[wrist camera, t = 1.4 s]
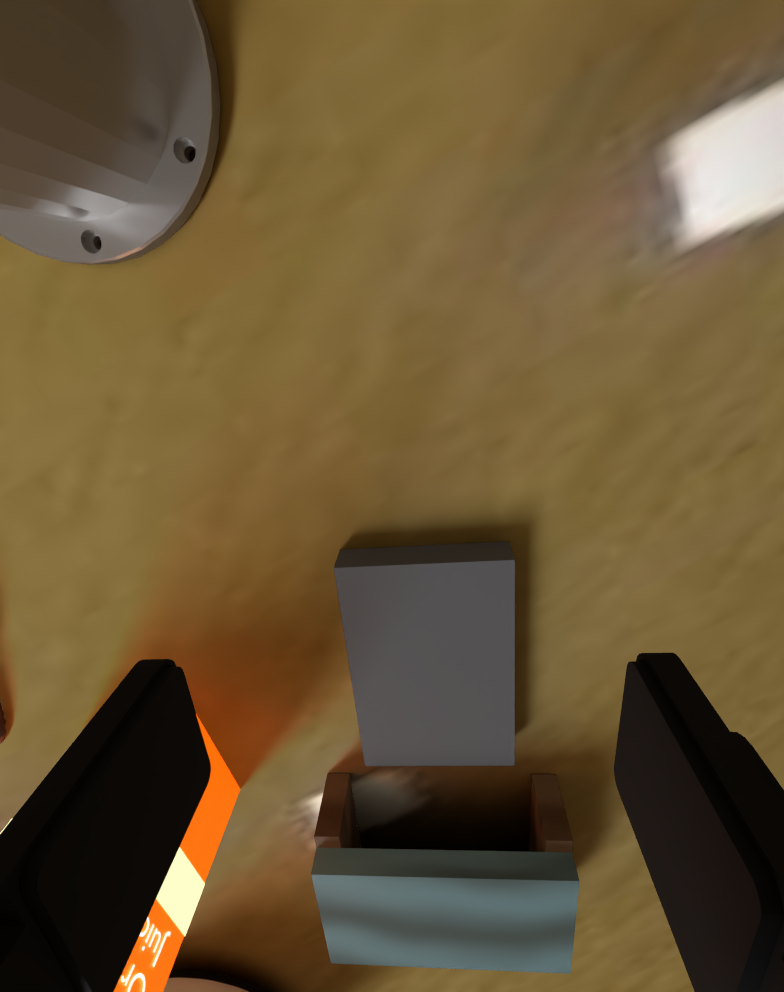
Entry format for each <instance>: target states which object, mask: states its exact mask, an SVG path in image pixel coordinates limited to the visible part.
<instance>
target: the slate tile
mask: <svg viewBox="0 0 784 992" xmlns="http://www.w3.org/2000/svg"><path fill="white" fill-rule="evenodd" d="M334 573H335V579H336V585H337V592H338V598H339V604H340V611H341V617H342V623H343V630H344V636H345V642H346V649H347V655H348V661H349V668H350V674H351V680H352V687H353V693H354V699H355V706H356V712H357V718H358V725H359V731H360V737H361V744H362V750H363V756H364V763H365V766H515V558H514V555H513V552H512V549H511V546H510V543H509V541H504V542H484V543H464V544H443V545H423V546H403V547H382V548H362V549H342V550H340V551H339V554H338V557H337V560H336V563H335V566H334Z"/></svg>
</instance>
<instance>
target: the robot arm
mask: <svg viewBox="0 0 784 992" xmlns="http://www.w3.org/2000/svg"><path fill="white" fill-rule="evenodd" d="M220 106H221V104H220V94H219V84H218V73H217V65H216V61H215V57H214V53H213V49H212V45H211V41H210V36H209V32H208V28H207V25H206V23H205V20H204V18H203V15H202V13H201V10H200V8H199V5H198V3H197V0H0V235H1V236H3V237H4V238H6V239H7V240H9V241H10V242H12V243H15V244H17V245H19V246H21V247H23V248H25V249H27V250H29V251H31V252H33V253H35V254H38V255H41V256H45V257H49V258H52V259H56V260H60V261H63V262H71V263H81V264H114V263H119V262H123V261H126V260H130V259H134V258H137V257H141V256H142V255H144V254H146V253H148V252H150V251H151V250H153V249H155V248H157V247H159V246H160V245H162V244H164V243H165V242H166V241H167V240H168V239H169V238H170V237H171V236H172V235H173V234H174V233H175V232H177V231H178V230H179V229H180V228H181V227H182V226H183V225H184V223H185V222H186V220H187V219H188V217H189V216H190V215H191V213H192V212H193V210H194V209H195V207H196V206H197V204H198V203H199V201H200V199H201V196H202V194H203V192H204V189H205V187H206V185H207V182H208V180H209V178H210V175H211V172H212V168H213V163H214V159H215V154H216V150H217V145H218V141H219V123H220ZM193 149H196V156H195V158H194V160H193V161H192V162H191V160H190V158H189V154H190V152H191V150H193ZM100 239H101V246H102V247H101V246H100ZM210 774H211V763H210V759H209V756H208V753H207V749H206V746H205V743H204V739H203V736H202V732H201V729H200V726H199V722H198V719H197V715H196V712H195V709H194V705H193V702H192V698H191V695H190V692H189V688H188V685H187V682H186V678H185V675H184V672H183V670H182V668H181V667H176V665H175V662H174V661H172V660H170V659H150V660H141V661H139V662H138V663H136V664H135V665H134V667H133V668H132V669H131V671H130V672H129V673H128V674H127V676H126V677H125V678H124V679H123V681H122V682H121V683H120V684H119V686H118V687H117V688H116V689H115V691H114V692H113V693H112V694H111V696H110V697H109V698H108V699H107V701H106V702H105V703H104V704H103V706H102V707H101V708H100V709H99V711H98V712H97V713H96V714H95V716H94V717H93V718H92V719H91V721H90V722H89V723H88V725H87V726H86V727H85V728H84V730H83V731H82V732H81V733H80V735H79V736H78V737H77V738H76V740H75V741H74V742H73V743H72V745H71V746H70V747H69V748H68V750H67V751H66V752H65V753H64V755H63V756H62V757H61V758H60V760H59V761H58V762H57V763H56V765H55V766H54V767H53V768H52V770H51V771H50V772H49V773H48V775H47V776H46V777H45V779H44V780H43V781H42V782H41V784H40V785H39V786H38V787H37V789H36V790H35V791H34V792H33V794H32V795H31V796H30V797H29V799H28V800H27V801H26V802H25V804H24V805H23V806H22V807H21V809H20V810H19V811H18V812H17V814H16V815H15V816H14V817H13V819H12V820H11V821H10V822H9V824H8V825H7V826H6V827H5V829H4V830H3V831H2V833H1V834H0V992H114V990H115V988H116V986H117V984H118V981H119V979H120V977H121V975H122V973H123V970H124V968H125V966H126V964H127V962H128V959H129V957H130V955H131V953H132V951H133V948H134V946H135V944H136V942H137V940H138V937H139V935H140V933H141V931H142V928H143V926H144V924H145V922H146V920H147V917H148V915H149V913H150V911H151V909H152V906H153V904H154V902H155V900H156V898H157V895H158V893H159V891H160V889H161V887H162V884H163V882H164V880H165V878H166V876H167V873H168V871H169V869H170V867H171V865H172V862H173V860H174V858H175V856H176V853H177V851H178V849H179V847H180V845H181V842H182V840H183V838H184V836H185V834H186V831H187V829H188V827H189V825H190V823H191V820H192V818H193V816H194V814H195V812H196V809H197V807H198V805H199V803H200V801H201V798H202V796H203V794H204V792H205V789H206V787H207V785H208V782H209V779H210ZM614 775H615V781H616V785H617V788H618V791H619V794H620V796H621V799H622V802H623V804H624V807H625V810H626V812H627V815H628V817H629V820H630V823H631V825H632V828H633V831H634V833H635V836H636V838H637V841H638V844H639V846H640V849H641V852H642V854H643V857H644V859H645V862H646V865H647V867H648V870H649V873H650V875H651V878H652V881H653V883H654V886H655V888H656V891H657V894H658V896H659V899H660V902H661V904H662V907H663V909H664V912H665V915H666V917H667V920H668V923H669V925H670V928H671V930H672V933H673V936H674V938H675V941H676V944H677V946H678V949H679V951H680V954H681V957H682V959H683V962H684V965H685V967H686V970H687V973H688V975H689V978H690V980H691V983H692V986H693V988H694V991H695V992H784V790H783V788H782V787H781V786H780V784H779V783H778V781H777V780H776V779H775V777H774V776H773V774H772V773H771V772H770V770H769V769H768V767H767V766H766V765H765V763H764V762H763V760H762V759H761V758H760V756H759V755H758V753H757V752H756V751H755V749H754V748H753V746H752V745H751V744H750V743H749V742H748V741H747V739H746V738H745V737H743V736H742V735H740V734H739V733H737V732H730V731H729V729H728V728H727V727H726V725H725V724H724V722H723V721H722V719H721V718H720V716H719V715H718V713H717V712H716V711H715V709H714V708H713V706H712V705H711V703H710V702H709V700H708V699H707V697H706V696H705V695H704V693H703V692H702V690H701V689H700V687H699V686H698V684H697V683H696V681H695V680H694V679H693V677H692V676H691V674H690V673H689V671H688V670H687V668H686V667H685V665H684V664H683V663H682V661H681V660H680V658H679V657H678V656H677V655H676V654H674V653H641V654H639V655H638V656H637V660H636V662H629V663H628V665H627V670H626V678H625V685H624V693H623V701H622V709H621V716H620V724H619V732H618V740H617V748H616V755H615V763H614Z"/></svg>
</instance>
